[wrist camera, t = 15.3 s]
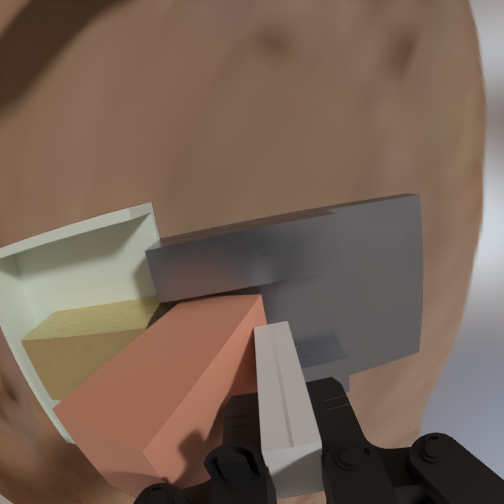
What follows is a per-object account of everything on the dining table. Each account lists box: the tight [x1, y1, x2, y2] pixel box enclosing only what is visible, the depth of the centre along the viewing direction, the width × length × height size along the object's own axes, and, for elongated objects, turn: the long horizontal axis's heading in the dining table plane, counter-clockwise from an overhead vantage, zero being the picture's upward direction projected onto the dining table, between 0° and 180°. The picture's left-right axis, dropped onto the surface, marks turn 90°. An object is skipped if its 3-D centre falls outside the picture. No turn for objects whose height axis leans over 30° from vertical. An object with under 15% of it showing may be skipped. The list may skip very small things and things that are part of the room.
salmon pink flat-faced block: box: [52, 294, 267, 498], centre depth 10 cm, size 4×4×9 cm
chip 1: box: [21, 304, 103, 401], centre depth 14 cm, size 4×4×4 cm
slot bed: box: [145, 194, 423, 392], centre depth 15 cm, size 14×10×3 cm
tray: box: [0, 202, 171, 444], centre depth 15 cm, size 11×14×3 cm
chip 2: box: [72, 295, 171, 376], centre depth 14 cm, size 4×4×4 cm
